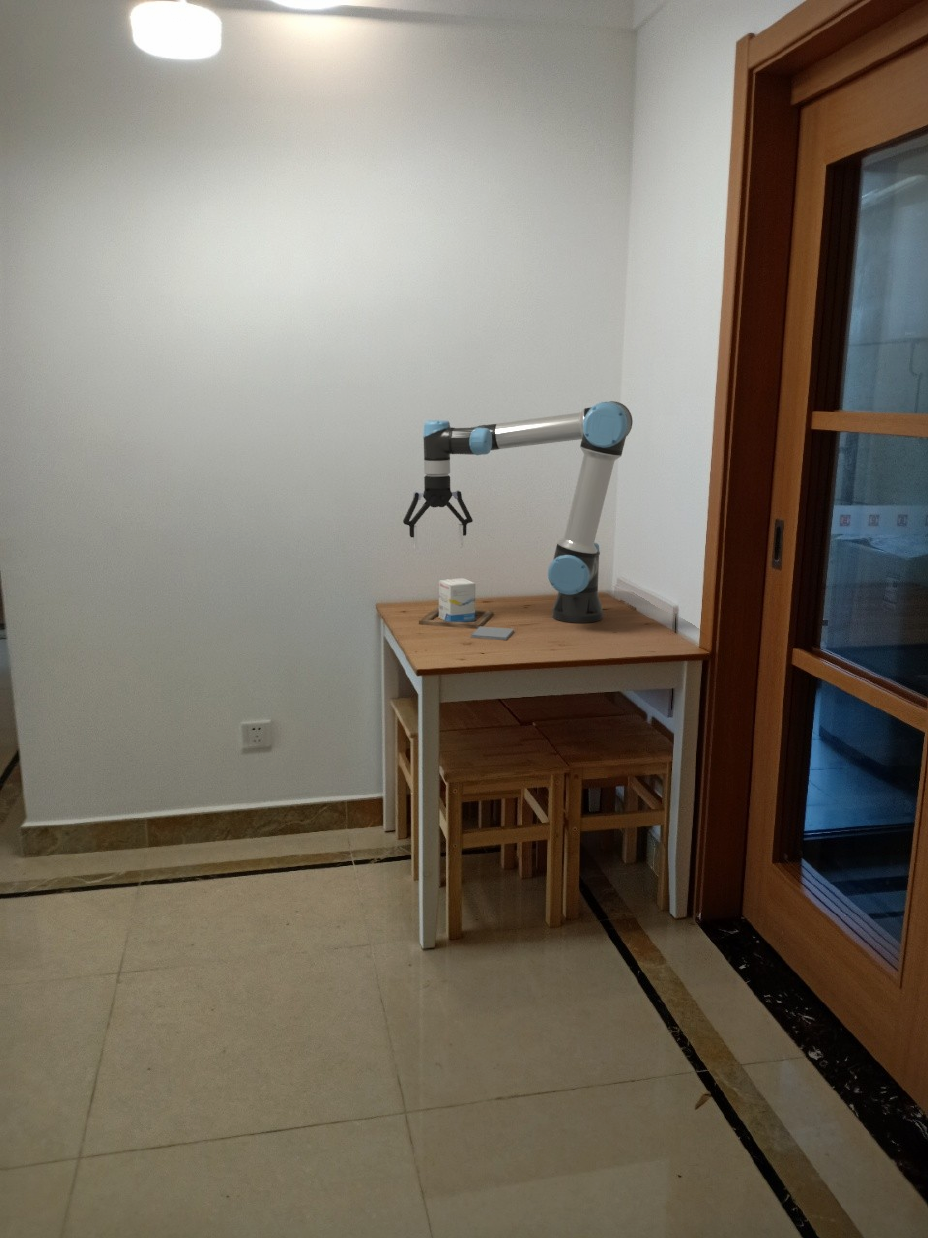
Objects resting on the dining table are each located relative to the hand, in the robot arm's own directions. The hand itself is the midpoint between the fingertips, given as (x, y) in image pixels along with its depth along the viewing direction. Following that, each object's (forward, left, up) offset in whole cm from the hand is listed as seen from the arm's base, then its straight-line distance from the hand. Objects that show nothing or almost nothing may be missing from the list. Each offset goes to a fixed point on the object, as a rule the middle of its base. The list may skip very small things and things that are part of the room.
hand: (438, 547), depth 298 cm
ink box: (-6, 0, -22) cm, 22 cm away
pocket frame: (-6, 0, -21) cm, 22 cm away
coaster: (-20, +14, -21) cm, 33 cm away
